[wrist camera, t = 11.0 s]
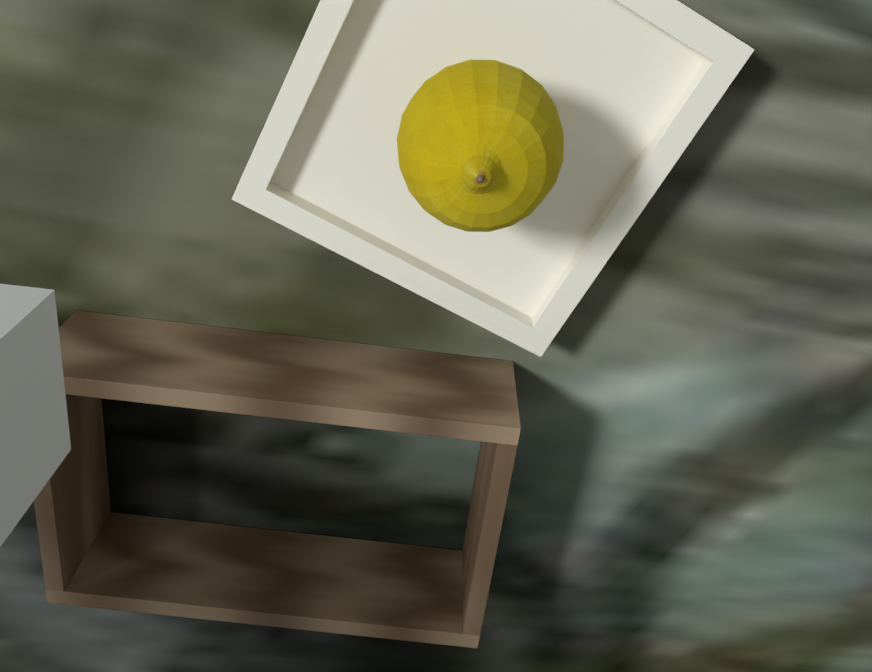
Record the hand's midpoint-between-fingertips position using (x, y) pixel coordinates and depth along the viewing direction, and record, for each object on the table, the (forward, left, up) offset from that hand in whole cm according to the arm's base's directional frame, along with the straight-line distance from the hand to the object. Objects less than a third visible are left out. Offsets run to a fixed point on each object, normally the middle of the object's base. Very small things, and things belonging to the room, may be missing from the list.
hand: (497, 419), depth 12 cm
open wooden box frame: (0, -18, -22) cm, 28 cm away
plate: (0, 0, -22) cm, 22 cm away
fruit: (0, 0, -21) cm, 21 cm away
